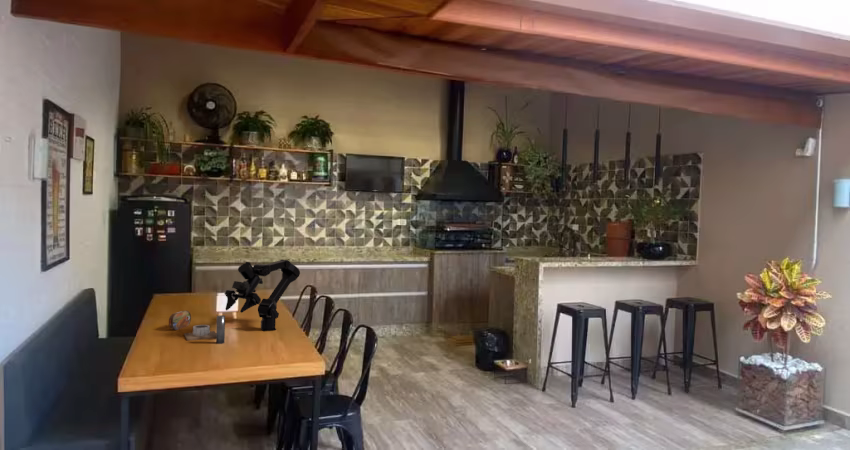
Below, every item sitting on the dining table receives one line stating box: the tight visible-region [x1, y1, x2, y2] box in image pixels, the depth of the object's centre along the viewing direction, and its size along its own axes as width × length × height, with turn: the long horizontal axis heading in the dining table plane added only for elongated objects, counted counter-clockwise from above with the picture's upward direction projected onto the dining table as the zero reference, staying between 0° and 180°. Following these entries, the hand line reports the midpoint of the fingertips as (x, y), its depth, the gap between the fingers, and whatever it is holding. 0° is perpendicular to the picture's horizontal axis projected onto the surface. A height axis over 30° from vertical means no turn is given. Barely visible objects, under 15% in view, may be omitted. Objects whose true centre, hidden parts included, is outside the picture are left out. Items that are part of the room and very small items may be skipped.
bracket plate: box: [183, 330, 216, 341], centre depth 267 cm, size 14×12×1 cm
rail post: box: [215, 315, 226, 345], centre depth 256 cm, size 4×4×12 cm
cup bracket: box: [192, 324, 211, 337], centre depth 267 cm, size 7×7×4 cm
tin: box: [168, 310, 192, 331], centre depth 283 cm, size 15×3×8 cm, turn 168°
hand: (233, 311), depth 263 cm, fingers open, 9 cm apart
